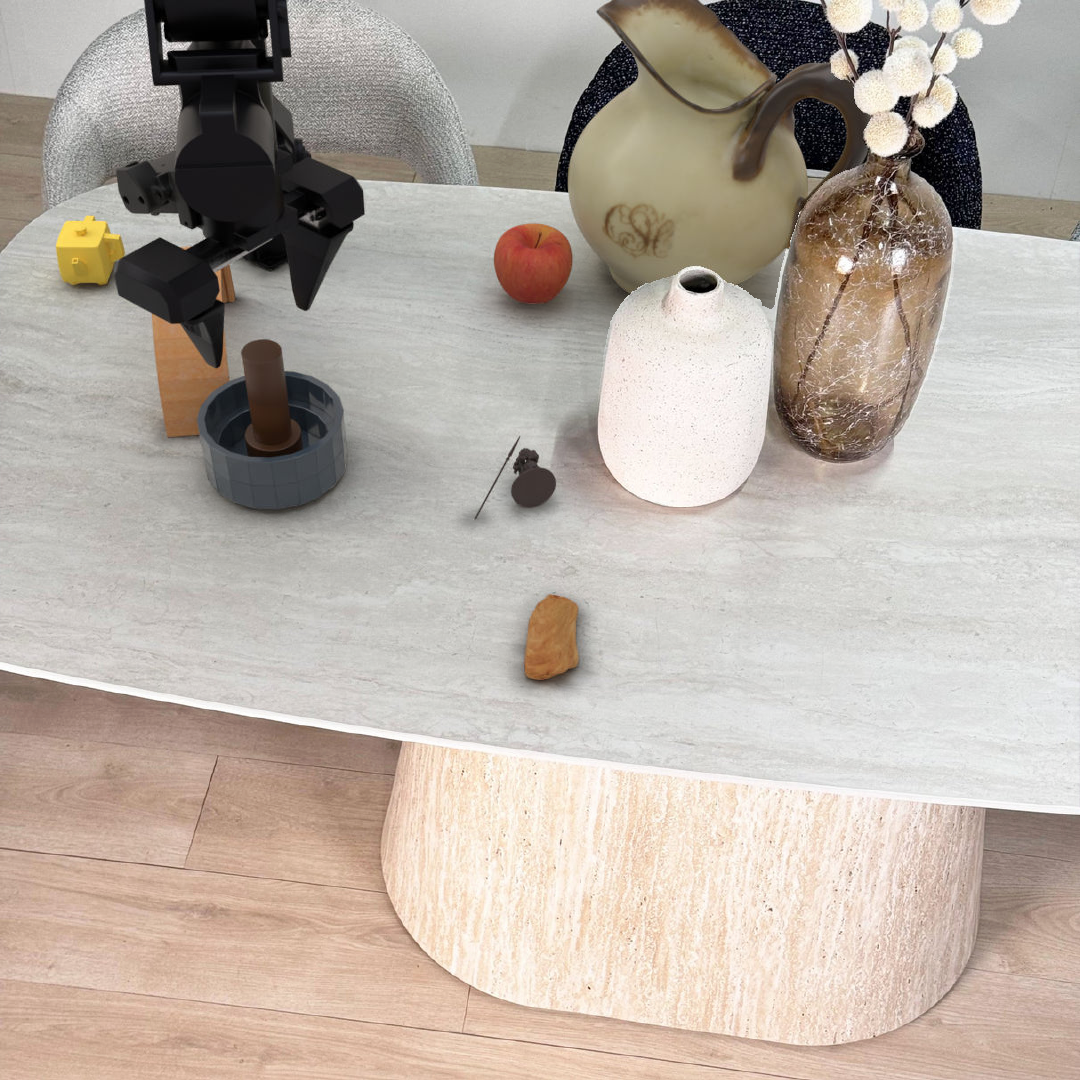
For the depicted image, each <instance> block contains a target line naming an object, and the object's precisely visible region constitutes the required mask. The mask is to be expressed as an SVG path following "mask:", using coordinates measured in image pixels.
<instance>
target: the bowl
mask: <svg viewBox="0 0 1080 1080" xmlns="http://www.w3.org/2000/svg"><path fill="white" fill-rule="evenodd" d="M284 371H285V379H286V387H287V395H288V403H289V411H290V418H291V419H293V420H294V421H296V422H297V423H298V425H299V426H300V428H301V435H302V443H303V450H301V451H298V452H296V453H293V454H289V455H283V456H277V457H249V456H248V453H247V447H246V441H245V431H246V429H247V427H248V426H249V425H250V424H251V423H252V420H251V414H250V407H249V401H248V394H247V388H246V381H245V375H241V376H238V377H236V378H234V379H231V380H230V379H229V380H230V381H229V382H227V383H225V384H223V385H222V386H220V387H219V388H217V389H216V390H214V391H213V392H212V393H211V394H210V395H209V396H208V397H207V399H206V400H205V401H204V402H203V403H202V405H201V407H200V410H199V413H198V417H197V425H198V430H199V435H198V436H199V439H200V440H199V441H200V445H201V450H202V455H203V461H204V467H205V470H206V476H207V480H208V482H209V483H210V484H211V486H212V487H213V488H214V489H215V491H216V492H217V493H218V494H219V495H221V496H222V497H224V498H226V499H227V500H228V501H229V500H230V501H231V502H232V503H235V504H236V505H237V504H238V505H241V506H244V507H248V508H252V509H257V510H258V509H260V510H261V509H262V510H280V509H281V510H282V509H286V508H287V509H288V508H292V507H298V506H300V505H301V506H302V505H305V504H307V503H309V502H312V501H315V500H317V499H319V498H321V497H322V496H323V495H324V494H326V493H327V492H328V491H330V490H331V489H332V488H334V487H335V486H336V485H337V484H338V482H339V481H340V479H341V478H342V476H343V475H344V474H345V471H346V468H347V464H348V456H349V455H348V446H347V445H348V444H347V434H346V433H347V432H346V421H345V410H344V407H343V403H342V400H341V397H340V396H339V395H338V393H337V392H335V390H334V389H333V388H332V387H331V386H330V385H329V384H328V383H326V382H324V381H322V380H320V379H318V378H316V377H314V376H312V375H308V374H305V373H301V372H297V371H292V370H289V371H288V370H284Z"/></svg>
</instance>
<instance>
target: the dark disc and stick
mask: <svg viewBox="0 0 1080 1080" xmlns="http://www.w3.org/2000/svg"><path fill="white" fill-rule="evenodd" d="M520 438H521V435H519V436H518V437H517V439H516V441H515V443H514V444H513V445H512V448H511V449H510V451H509V452H508V454H507V457H506V458H505V461H504V462H503V465H502V467H501V468H500V471H499V472H498V473H497V475H496V477H495V479H494V481H493V483H492V486H491V487H490V489H489V490H488V493H487V494H486V496H485V497H484V500H483V502H482V503H481V505H480V507H479V509H478V511H477V513H476V514H475V516H474V520H477V518H478V517H479V515H480V513H481V511H482V510H483V507H484V506H485V504H486V502H487V500H488V499H489V497H490V494H491V493H492V491H493V489H494V487H495V486H496V483H497V482H498V480H499V478H500V476H501V474H502V473H503V471H504V469H505V467H506V466H507V463H508V461H510V458H511V457H512V456H513V454H514V451H515V449H516V447H517V445H518V443H519V442H520ZM539 459H540V455H539V453H538V452H537V450H535V449H529V448H528V447H524V448H522V449H521V450H520V451H519V452H518V456H516V458H515V461H514V463H513V465H512V469H513V474H515V475H517V474H518V476H517V477H516V478H515V479H514V481H513V482H512V484H511V489H510V494H511V497H512V499H513V502H515V503H516V504H517V505H518V506H521V507H524V508H533V507H538V506H540V505H542V504H544V503H545V502H547V501H548V500H549V499H550V498H551V497H552V496H553V494H554V493H555V490H556V487H557V479H556V476H555V474H554V473H553V472H552V471H551V470H550V469H547V468H545V467H541V466H539V465H538V464H539Z"/></svg>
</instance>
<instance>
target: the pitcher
mask: <svg viewBox="0 0 1080 1080" xmlns="http://www.w3.org/2000/svg"><path fill="white" fill-rule="evenodd" d="M595 13H596V14H597V15H598V16H599V17H600V18H601V20H602V21H604V23H606V25H608V27H610V29H612V31H614V33H615V34H616V35H617V36H618V38H619V39H620V40H621V41H622V42H623V44H624V45H625V46H626V47H627V49H628V50H629V51H630V52H631V53H632V55H633V57H634V60H635V63H636V66H637V72H638V75H637V78H636V80H635V81H634V82H633V83H632V84H631V85H629V86H627V88H625V89H623V91H621V92H620V93H618V94H616V96H615V97H613V98H612V99H611V100H610V101H608V103H607V104H605V105H604V106H603V107H602V108H600V110H599V111H598V112H596V114H595V115H594V116H593V117H592V118H591V120H590V121H589V122H588V123H587V124H586V125H585V127H584V129H583V130H582V132H581V133H580V135H579V137H578V139H577V141H576V143H575V145H574V148H573V151H572V154H571V156H570V160H569V165H568V170H567V190H568V192H567V193H568V200H569V205H570V208H571V213H572V216H573V218H574V221H575V224H576V226H577V228H578V230H579V232H580V234H581V236H582V237H583V238H584V240H585V241H586V243H587V244H588V245H589V247H590V248H591V249H592V250H593V252H594V253H595V254H596V255H597V256H598V257H599V259H601V261H602V262H604V263H605V264H606V265H607V266H608V268H609V272H610V275H611V277H612V279H613V280H614V282H615V283H616V285H618V286H619V287H620V288H621V289H622V290H623V291H624V292H626V293H627V294H629V295H631V294H630V293H631V292H632V291H635V290H637V288H638V287H640V286H642V285H644V284H645V283H651V282H653V281H656V280H660V279H662V278H667V277H671V276H673V275H676V274H678V272H679V271H681V270H682V269H684V268H686V267H690V266H701V267H704V268H707V269H710V270H712V271H714V272H715V273H717V274H718V275H719V276H720V277H721V278H722V279H723V280H725V281H726V282H727V283H732V284H734V286H733V287H735V286H737V285H740V284H742V283H744V282H746V281H748V280H749V279H751V278H752V277H754V276H756V275H757V274H758V273H760V272H761V271H763V270H764V269H765V268H766V267H769V265H770V264H772V263H773V262H774V261H775V260H777V258H779V257H780V256H781V254H782V253H783V252H784V251H785V250H786V249H787V250H789V247H790V240H791V237H792V234H793V232H794V229H795V225H796V223H797V220H798V215H799V212H800V211H801V210H802V209H803V208H804V206H805V204H806V202H807V200H808V199H809V198H810V197H811V195H812V194H814V193H815V191H816V190H817V189H818V188H819V187H820V186H822V185H823V183H824V182H825V181H827V180H828V179H830V178H832V177H833V176H835V175H837V174H839V173H841V172H843V171H845V170H850V169H852V168H855V167H856V166H859V165H861V166H862V164H863V163H864V161H865V159H866V157H867V155H868V152H869V150H868V147H867V146H866V145H865V143H864V141H863V131H864V129H865V128H866V126H867V124H868V122H869V121H870V119H871V117H870V115H868V114H866V113H863V112H862V111H861V110H860V109H859V108H858V107H857V105H856V104H855V99H854V88H853V84H852V83H851V82H849V81H847V80H840V79H838V78H837V77H835V76H834V75H833V73H831V63H832V62H822V63H820V62H809V63H804V64H801V65H799V66H797V67H795V68H794V69H792V70H790V72H789V73H787V74H786V75H785V76H784V78H783V79H781V80H779V82H777V83H776V81H777V78H778V75H777V74H775V72H772V71H771V70H770V69H769V68H768V66H767V65H766V64H764V63H763V62H762V61H761V60H760V59H759V58H758V56H757V54H756V53H754V52H752V51H751V50H750V48H748V47H747V46H746V45H745V44H744V43H742V42H741V40H740V39H739V38H738V36H737V35H736V34H735V32H734V31H732V30H731V29H730V28H727V26H725V25H724V24H723V23H722V22H721V21H720V19H719V17H718V15H717V14H716V13H715V12H714V11H713V10H712V9H710V8H709V7H707V5H704V3H702V2H701V1H700V0H610V1H608V2H607V3H604V4H602V5H601V6H599V8H598V9H596V12H595ZM809 98H811V99H816V100H818V101H820V102H822V103H824V104H829V105H832V106H833V107H835V108H836V109H837V110H838V111H839V112H840V114H841V116H842V118H843V120H844V123H845V128H846V137H845V138H846V139H845V144H844V148H843V150H842V153H841V154H840V157H839V159H838V160H837V162H836V163H835V165H833V166H834V167H833V168H832V169H831V170H830V171H829V172H828V174H826V176H825V177H824V178H823V179H822V180H821V181H820V182H819V183H818V184H817V185H816V186H815V187H814V189H813V190H812V191H811V192H810V193H809V176H808V170H807V166H806V162H805V158H804V155H803V152H802V150H801V148H800V146H799V143H798V141H797V138H796V137H795V124H796V123H795V122H796V121H795V119H796V118H795V114H794V108H795V107H796V105H797V103H798V102H801V101H802V100H804V99H809Z"/></svg>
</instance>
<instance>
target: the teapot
mask: <svg viewBox="0 0 1080 1080" xmlns="http://www.w3.org/2000/svg"><path fill="white" fill-rule="evenodd" d="M55 252H56V253H55V254H56V259H57V265H58V270H59V275H60V278H61V280H62V281H63V283H69V284H70V285H73V286H75V285H79V284H97V285H99V286H103V285H107V284H108V282H109V279H110V277H111V274H112V272H113V271H114V265H115V264H116V261H119V260H120V259H121V258H122V257H124V256H126V255H125V254H126V250H125V247H124V243H123V240H122V236H121V234H118V233H117V234H116V233H111V230H110V227H109V224H108V222H107V220H96V216H95V215H85V217H84V219H83V220H66V221H65V222H64V223H63V226H62V227H61V230H60V232H59V234H58V237H57V240H56V243H55Z"/></svg>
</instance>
